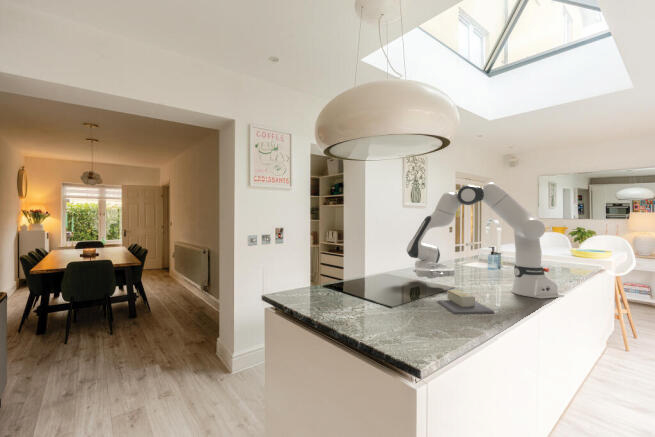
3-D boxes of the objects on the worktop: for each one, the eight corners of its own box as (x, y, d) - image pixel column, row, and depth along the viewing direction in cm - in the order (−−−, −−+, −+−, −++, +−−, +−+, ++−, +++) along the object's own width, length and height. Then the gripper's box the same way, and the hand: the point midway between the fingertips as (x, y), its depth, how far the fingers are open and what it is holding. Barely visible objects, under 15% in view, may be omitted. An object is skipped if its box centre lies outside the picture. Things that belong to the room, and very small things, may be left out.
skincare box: (459, 289, 142) (475, 296, 130) (459, 298, 142) (475, 306, 130) (446, 290, 141) (462, 296, 129) (446, 299, 141) (462, 307, 129)
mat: (473, 301, 140) (473, 299, 140) (493, 313, 124) (494, 311, 124) (437, 302, 139) (437, 300, 139) (453, 313, 123) (453, 312, 123)
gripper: (412, 264, 168) (420, 269, 154) (447, 264, 169) (460, 269, 155) (411, 275, 168) (420, 281, 154) (447, 275, 169) (459, 281, 155)
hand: (440, 275), depth 154 cm, fingers closed
